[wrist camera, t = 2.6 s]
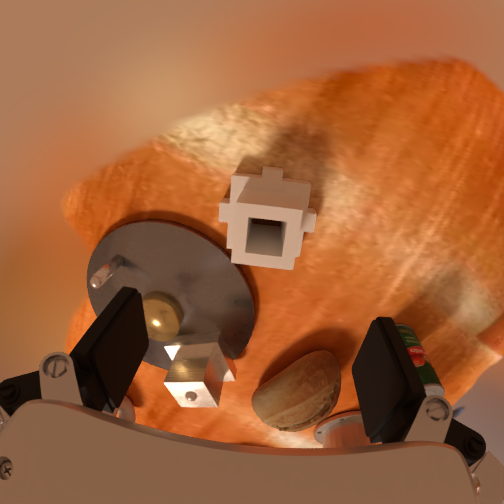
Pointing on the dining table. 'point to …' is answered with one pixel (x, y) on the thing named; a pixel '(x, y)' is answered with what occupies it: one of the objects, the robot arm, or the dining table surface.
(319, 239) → the dining table surface
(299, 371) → the bread roll
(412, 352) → the canned tomato
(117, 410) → the donut
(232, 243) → the hollow square tube block
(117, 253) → the carrier
